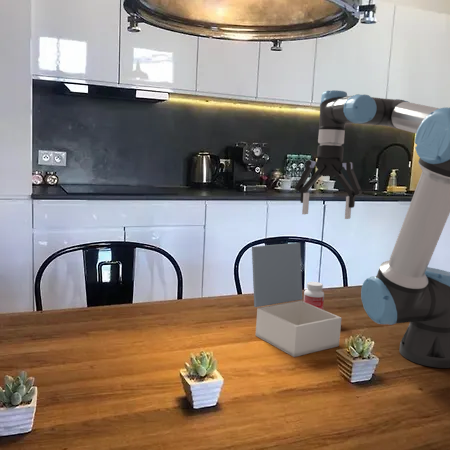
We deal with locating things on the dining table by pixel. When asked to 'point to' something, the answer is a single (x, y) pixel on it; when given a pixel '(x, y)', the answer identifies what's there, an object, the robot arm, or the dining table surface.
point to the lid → (276, 274)
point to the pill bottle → (314, 294)
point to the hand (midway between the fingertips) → (325, 216)
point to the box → (298, 327)
